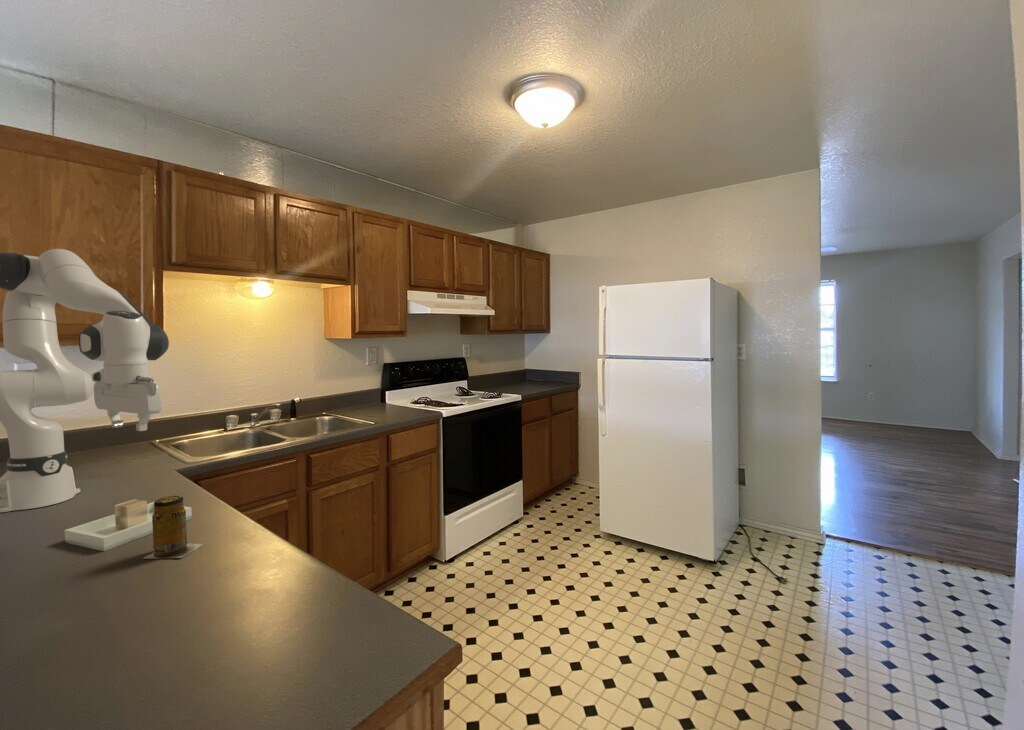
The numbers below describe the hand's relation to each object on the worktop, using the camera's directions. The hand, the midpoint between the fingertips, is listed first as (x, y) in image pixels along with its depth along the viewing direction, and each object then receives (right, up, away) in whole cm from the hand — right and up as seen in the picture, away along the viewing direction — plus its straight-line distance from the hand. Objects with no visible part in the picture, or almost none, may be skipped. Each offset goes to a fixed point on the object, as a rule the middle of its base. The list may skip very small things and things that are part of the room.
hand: (129, 428), depth 118 cm
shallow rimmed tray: (+3, -25, -3) cm, 25 cm away
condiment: (+23, -26, -15) cm, 37 cm away
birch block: (+3, -24, -3) cm, 24 cm away
